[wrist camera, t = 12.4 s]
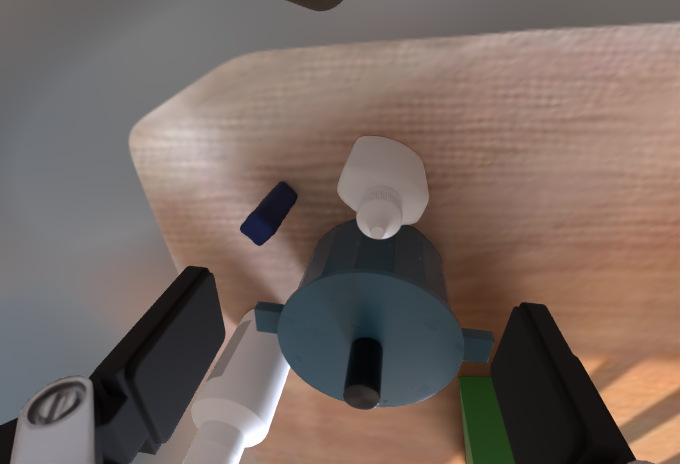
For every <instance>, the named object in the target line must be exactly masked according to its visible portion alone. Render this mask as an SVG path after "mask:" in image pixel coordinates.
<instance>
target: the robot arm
mask: <svg viewBox="0 0 680 464" xmlns="http://www.w3.org/2000/svg"><path fill="white" fill-rule="evenodd" d="M224 339H225V327H224V322H223V317H222V312H221V307H220V303H219V298H218V293H217V288H216V283H215V278H214V275H213V273H210V272H209V270H208V268H205V267H196V266H188V267H187V268H185V269H184V271H183V272H182V273H181V274H180V275H179V276H178V277H177V278H176V280H175V281H174V282H173V283H172V284H171V285H170V286H169V287H168V289H167V290H166V291H165V292H164V293H163V294H162V295H161V297H160V298H159V299H158V300H157V301H156V302H155V303H154V304H153V305H152V306H151V308H150V309H149V310H148V311H147V312H146V313H145V314H144V315H143V317H142V318H141V319H140V320H139V321H138V322H137V323H136V324H135V326H134V327H133V328H132V329H131V330H130V331H129V332H128V333H127V335H126V336H125V337H124V338H123V339H122V340H121V341H120V343H118V345H117V346H116V347H115V348H114V349H113V350H112V351H111V352H110V354H109V355H108V356H107V357H106V358H105V359H104V360H103V362H102V363H101V364H100V365H99V366H98V367H97V368H96V369H95V371H94V372H93V373H92V375H91V376H90V377H89V378H87V377H84V376H80V375H79V376H78V375H77V376H68V377H64V378H61V379H58V380H56V381H54V382H52V383H49V384H48V385H46V386H45V387H43V388H41V389H40V390H39V391H37V392H36V393H35V394H34V395H33V396H32V397H31V398H30V399H28V401H27V402H26V404H25V405H24V406H23V407H22V410H21V412H20V415H19V417H18V418H16V419H14V420H12V421H9V422H7V423H5V424H3V425H0V464H132V461H133V460H134V458H135V456H136V455H137V453H138V452H142V453H148V454H154V455H155V454H156V453H157V451H158V449H159V447H160V446H161V444H162V443H166V442H167V441H168V440H169V439H170V437H171V435H172V433H173V432H174V430H175V428H176V426H177V425H178V423H179V421H180V419H181V417H182V416H183V413H184V412H185V410H186V408H187V406H188V405H189V403H190V401H191V399H192V398H193V396H194V394H195V392H196V390H197V389H198V387H199V385H200V383H201V381H202V379H203V378H204V376H205V374H206V372H207V371H208V369H209V367H210V365H211V363H212V362H213V360H214V358H215V356H216V354H217V353H218V351H219V349H220V347H221V345H222V344H223V342H224ZM490 373H491V379H492V383H493V386H494V390H495V394H496V397H497V401H498V404H499V408H500V411H501V415H502V419H503V422H504V426H505V429H506V433H507V436H508V440H509V444H510V447H511V451H512V454H513V458H514V461H515V464H654V463H651V462H648V461H640V460H636V458H635V456H634V455H633V453H632V451H631V449H630V448H629V446H628V444H627V442H626V441H625V439H624V437H623V435H622V434H621V432H620V430H619V428H618V426H617V425H616V423H615V421H614V419H613V418H612V416H611V414H610V412H609V411H608V409H607V407H606V405H605V404H604V402H603V400H602V398H601V397H600V395H599V393H598V391H597V389H596V388H595V386H594V384H593V382H592V381H591V379H590V377H589V375H588V374H587V372H586V370H585V368H584V367H583V365H582V363H581V362H580V360H579V359H578V357H576V356H575V355H573V353H572V352H571V350H570V348H569V346H568V344H567V343H566V341H565V339H564V337H563V335H562V334H561V332H560V330H559V328H558V326H557V325H556V323H555V321H554V319H553V317H552V316H551V314H550V312H549V310H548V308H547V307H546V306H545V305H543V304H535V303H526V302H522V303H521V304H520V306H519V307H517V306H515V307H514V308H513V310H512V312H511V315H510V318H509V320H508V323H507V325H506V328H505V331H504V333H503V336H502V339H501V341H500V344H499V346H498V349H497V352H496V354H495V357H494V359H493V362H492V365H491V372H490Z"/></svg>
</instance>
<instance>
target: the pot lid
mask: <svg viewBox="0 0 680 464" xmlns="http://www.w3.org/2000/svg"><path fill="white" fill-rule="evenodd" d="M277 336H278V342H279V346H280V349H281V352H282V354H283V356H284V358H285V360H286V361H287V363H288V364H289V365H290V367H291V368H292V369H293V370H294V372H295V373H296V374H297V375H298V376H299V377H300V378H302V379H303V380H304V381H305V382H306V383H308V384H309V385H311V386H312V387H313V388H315V389H317V390H318V391H320V392H322V393H324V394H326V395H328V396H330V397H333V398H335V399H338V400H341V401H344V402H346V403H347V404H349V405H350V406H352V407H354V408H357V409H362V410H368V409H372V408H375V407H396V406H404V405H408V404H413V403H416V402H419V401H422V400H425V399H427V398H429V397H431V396H433V395H435V394H436V393H438V392H440V391H441V390H442V389H443V388H445V387H446V386H447V385H448V384H449V383H450V382H451V381H452V380H453V379H454V377H455V376H456V374H457V373H458V371H459V369H460V367H461V364H462V362H463V357H464V339H463V334H462V329H461V327H460V324H459V322H458V320H457V318H456V316H455V314H454V313H453V311H452V310H451V309H450V308H449V306H448V305H447V304H446V303H445V302H444V301H443V300H442V299H441V298H440V297H439V296H438V295H437V294H435V293H434V292H433V291H431V290H430V289H428V288H427V287H425V286H424V285H422V284H420V283H418V282H416V281H414V280H412V279H409V278H407V277H404V276H402V275H399V274H395V273H391V272H388V271H382V270H376V269H361V268H360V269H345V270H339V271H334V272H330V273H327V274H323V275H321V276H318V277H316V278H314V279H312V280H310V281H308V282H307V283H305V284H303V285H302V286H301V287H300V288H298V289H297V290H296V291H295V292H294V293H293V294H292V295H291V296H290V298H289V299H288V300H287V302H286V304H285V305H284V307H283V309H282V312H281V314H280V317H279V321H278V326H277Z"/></svg>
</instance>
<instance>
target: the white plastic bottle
mask: <svg viewBox="0 0 680 464" xmlns="http://www.w3.org/2000/svg"><path fill="white" fill-rule="evenodd" d="M289 369H290V365H289V364H288V363H287V361H286V360H285V358H284V356H283V354H282V352H281V349H280V346H279V342H278V336H277V334H273V333H266V332H258V331H257V328H256V320H255V312H254V309H252V310H250V311H249V312H247V313H246V314H245V315H244V317H243V318H242V320H241V322H240V323H239V325H238V327H237V329H236V330H235V332H234V334H233V336H232V337H231V339H230V341H229V343H228V344H227V346H226V348H225V350H224V351H223V353H222V355H221V357H220V358H219V360H218V362H217V363H216V365H215V367H214V369H213V370H212V372H211V374H210V376H209V377H208V379H207V381H206V383H205V384H204V386H203V388H202V390H201V391H200V393H199V395H198V397H197V398H196V400H195V402H194V404H193V406H192V409H191V415H192V420H193V422H194V423H195V425H196V427H197V428H198V431H197V433H196V435H195V437H194V439H193V441H192V443H191V445H190V447H189V451H188V453H187V455H186V457H185V458H184V460H183V462H182V464H238V463H239V460H240V458H241V455H242V453H243V450H244V448H245V447H251V446H254V445H256V444H258V443H260V442H261V441H262V440H263V439H264V438H265V436H266V435H267V433H268V430H269V427H270V424H271V421H272V418H273V415H274V412H275V410H276V407H277V404H278V401H279V398H280V395H281V392H282V389H283V386H284V383H285V380H286V377H287V374H288V372H289Z"/></svg>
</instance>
